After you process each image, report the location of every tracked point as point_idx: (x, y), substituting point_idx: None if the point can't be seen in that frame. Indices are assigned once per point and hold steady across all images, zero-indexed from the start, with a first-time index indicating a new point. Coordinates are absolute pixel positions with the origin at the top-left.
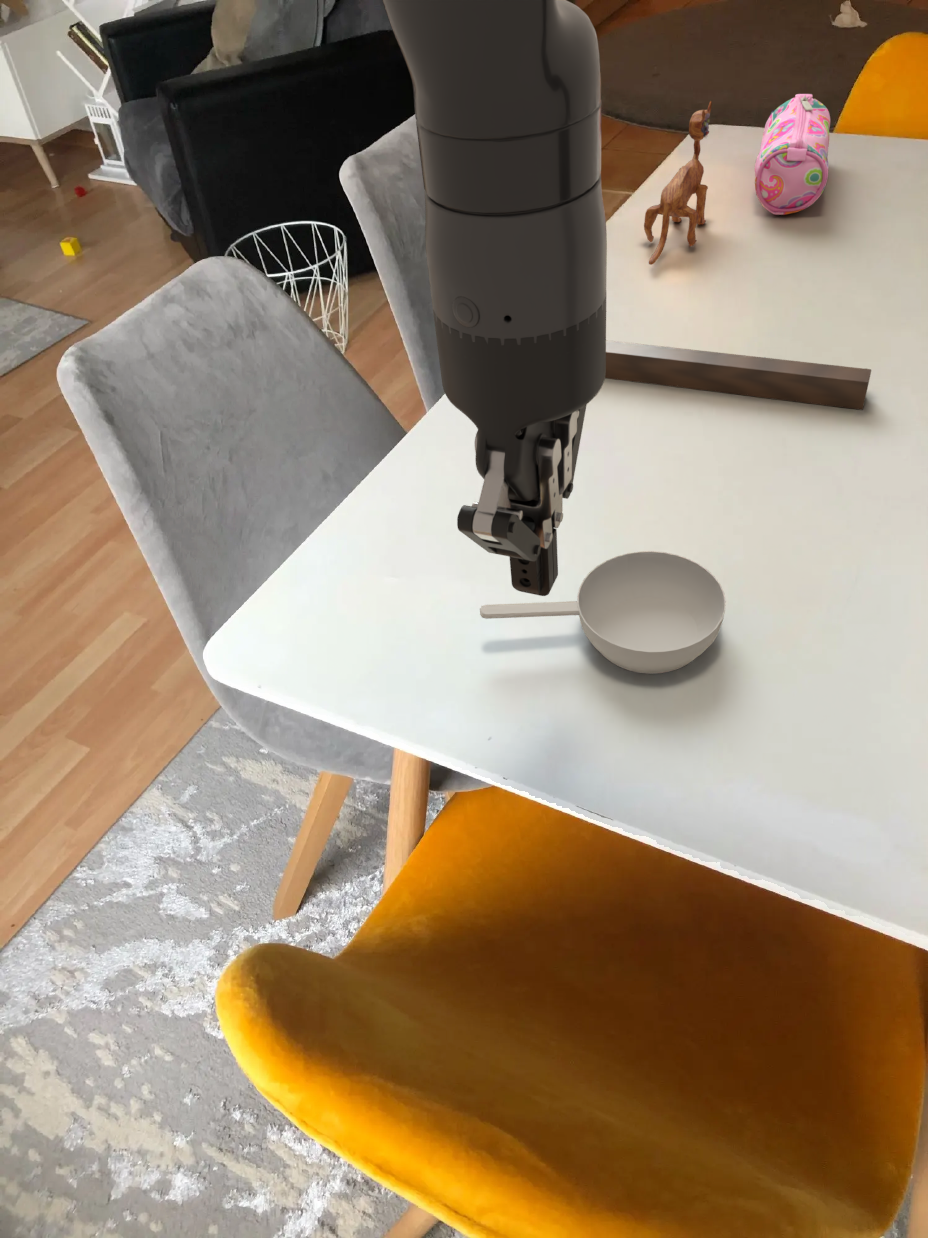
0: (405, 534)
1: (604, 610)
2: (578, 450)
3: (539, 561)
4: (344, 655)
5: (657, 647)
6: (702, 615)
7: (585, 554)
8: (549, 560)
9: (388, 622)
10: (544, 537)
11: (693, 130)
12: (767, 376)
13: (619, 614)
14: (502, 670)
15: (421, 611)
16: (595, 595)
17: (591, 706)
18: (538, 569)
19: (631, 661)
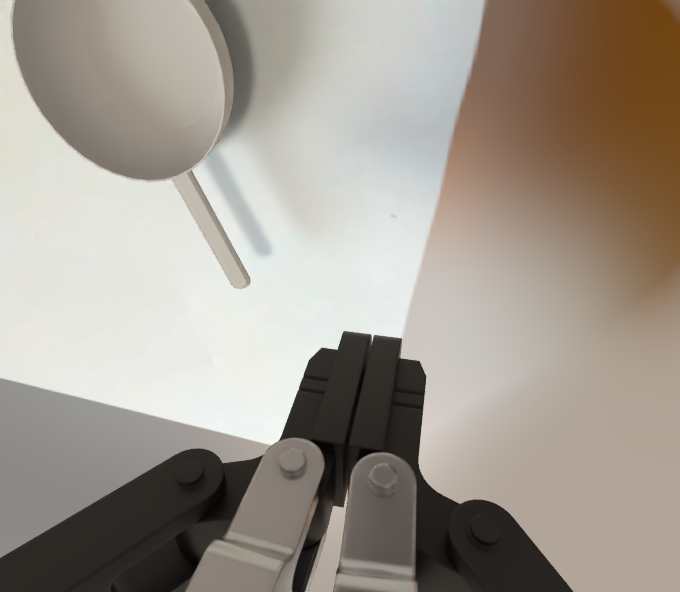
0: (152, 362)
1: (148, 131)
2: (67, 520)
3: (398, 427)
4: None
5: (174, 39)
6: None
7: (72, 177)
8: (380, 404)
9: (271, 349)
10: (411, 506)
11: None
12: None
13: (144, 109)
14: (290, 227)
15: (243, 325)
16: (136, 151)
17: (306, 107)
18: (411, 415)
19: (231, 74)
